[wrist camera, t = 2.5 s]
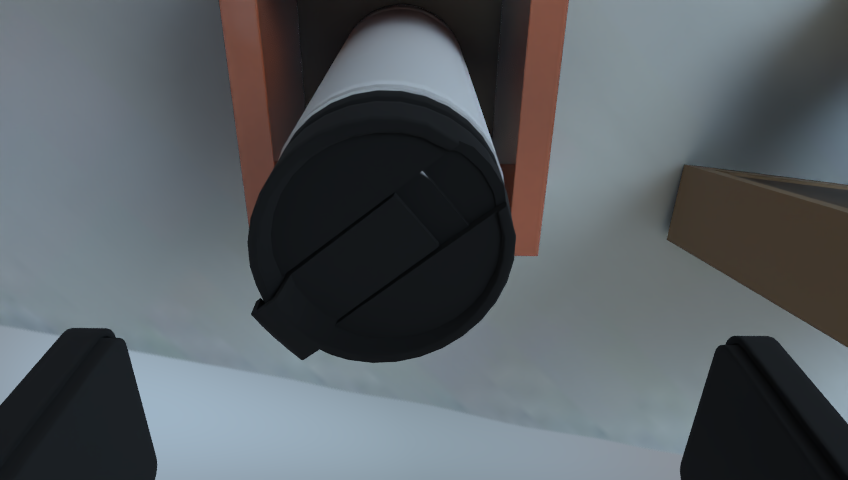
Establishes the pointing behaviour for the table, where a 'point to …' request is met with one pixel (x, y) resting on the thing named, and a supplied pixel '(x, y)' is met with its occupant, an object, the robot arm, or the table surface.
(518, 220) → the holder
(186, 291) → the table surface
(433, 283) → the travel mug
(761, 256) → the photo frame
